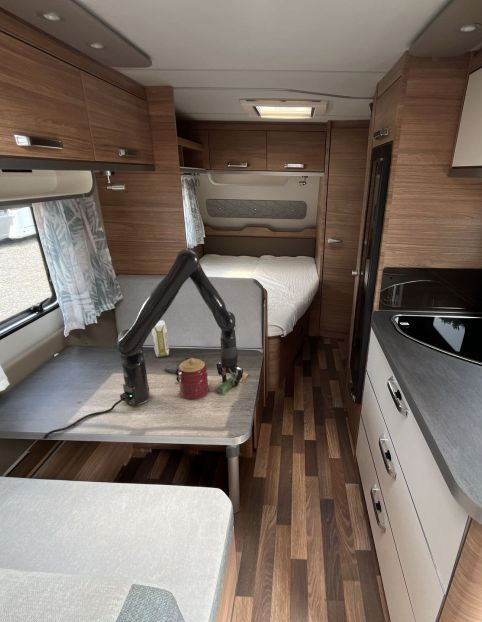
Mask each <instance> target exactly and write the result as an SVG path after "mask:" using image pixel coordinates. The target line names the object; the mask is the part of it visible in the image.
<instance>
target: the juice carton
mask: <svg viewBox="0 0 482 622" xmlns="http://www.w3.org/2000/svg"><path fill="white" fill-rule="evenodd" d="M151 334H152V342H153V348H154V354H155V356H156V357H157V358H161V357H162V358H163V357H167V356H169V354H170V347H169V345H170V344H169V337H168V329H167V324H166V323H165V320H159V322H158V323H157V324H156V326H155V327H154V328H153V329H152V331H151Z"/></svg>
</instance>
